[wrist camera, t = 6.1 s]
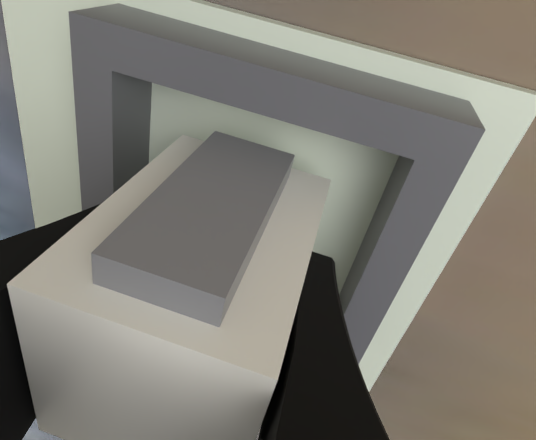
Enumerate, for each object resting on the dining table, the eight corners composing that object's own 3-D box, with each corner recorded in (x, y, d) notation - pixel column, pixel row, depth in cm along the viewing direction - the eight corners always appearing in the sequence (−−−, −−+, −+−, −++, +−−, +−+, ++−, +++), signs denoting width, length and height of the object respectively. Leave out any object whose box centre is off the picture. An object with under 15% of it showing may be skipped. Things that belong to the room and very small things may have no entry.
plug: (293, 291, 13) (231, 504, 8) (171, 251, 13) (38, 429, 8) (338, 158, 10) (288, 352, 5) (184, 112, 10) (-1, 251, 5)
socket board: (337, 435, 19) (331, 493, 17) (59, 334, 20) (21, 377, 18) (539, 92, 10) (579, 127, 8) (7, -53, 11) (-81, -56, 9)
